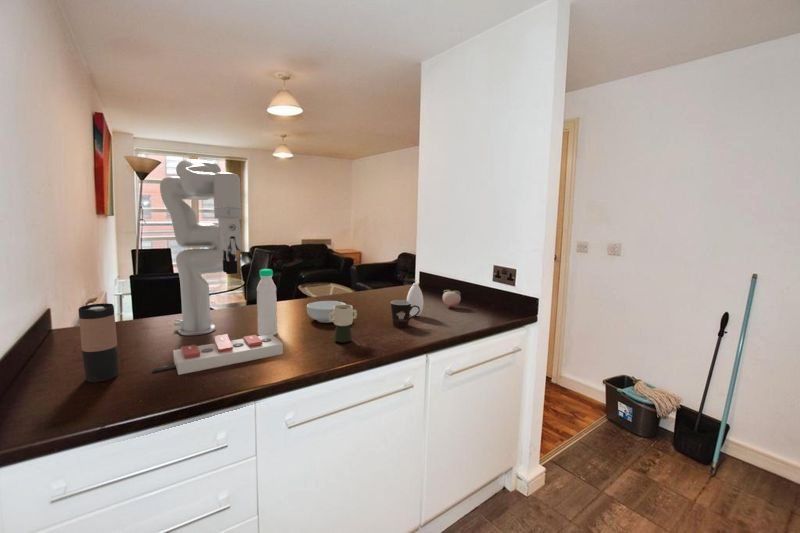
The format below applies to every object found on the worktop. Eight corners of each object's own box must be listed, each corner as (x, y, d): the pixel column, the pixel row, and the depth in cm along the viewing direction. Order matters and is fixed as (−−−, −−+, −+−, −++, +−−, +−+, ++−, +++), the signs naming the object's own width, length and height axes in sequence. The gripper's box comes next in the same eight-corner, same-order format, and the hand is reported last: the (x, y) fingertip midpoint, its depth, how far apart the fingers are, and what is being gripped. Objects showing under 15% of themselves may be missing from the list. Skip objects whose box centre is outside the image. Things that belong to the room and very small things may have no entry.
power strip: (153, 379, 103) (152, 367, 103) (150, 365, 113) (149, 353, 113) (283, 353, 125) (282, 343, 124) (271, 343, 134) (271, 333, 134)
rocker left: (184, 358, 109) (184, 354, 109) (181, 349, 116) (181, 346, 115) (200, 355, 112) (200, 351, 111) (196, 347, 118) (195, 344, 118)
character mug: (352, 336, 144) (352, 303, 142) (360, 341, 138) (361, 307, 136) (325, 340, 138) (325, 306, 136) (332, 346, 132) (332, 310, 131)
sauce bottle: (423, 319, 170) (424, 279, 168) (406, 318, 170) (407, 279, 168) (422, 314, 178) (423, 276, 175) (406, 314, 178) (407, 276, 175)
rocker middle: (218, 352, 114) (218, 349, 114) (213, 338, 120) (213, 335, 120) (232, 349, 117) (232, 346, 116) (227, 336, 123) (227, 333, 122)
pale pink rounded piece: (441, 309, 188) (442, 289, 187) (442, 305, 196) (443, 286, 195) (460, 310, 187) (461, 290, 185) (460, 306, 195) (461, 287, 193)
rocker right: (249, 346, 120) (249, 343, 120) (243, 339, 126) (243, 336, 126) (262, 344, 122) (262, 341, 122) (255, 337, 128) (255, 334, 128)
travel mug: (97, 371, 108) (91, 303, 105) (126, 371, 109) (120, 303, 106) (77, 383, 100) (70, 310, 98) (107, 382, 101) (101, 310, 98)
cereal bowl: (353, 319, 167) (354, 303, 166) (327, 328, 153) (327, 311, 152) (325, 313, 176) (325, 298, 175) (298, 321, 162) (298, 305, 161)
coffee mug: (386, 327, 157) (387, 303, 155) (395, 321, 165) (395, 299, 163) (413, 330, 152) (413, 306, 151) (420, 325, 160) (420, 302, 159)
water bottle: (271, 337, 140) (269, 271, 137) (254, 336, 141) (252, 270, 138) (280, 332, 147) (279, 268, 143) (264, 330, 148) (262, 267, 145)
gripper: (247, 214, 112) (249, 275, 114) (234, 213, 125) (236, 268, 128) (220, 214, 107) (222, 277, 110) (209, 213, 121) (212, 270, 123)
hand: (230, 272), depth 119 cm, fingers open, 3 cm apart
